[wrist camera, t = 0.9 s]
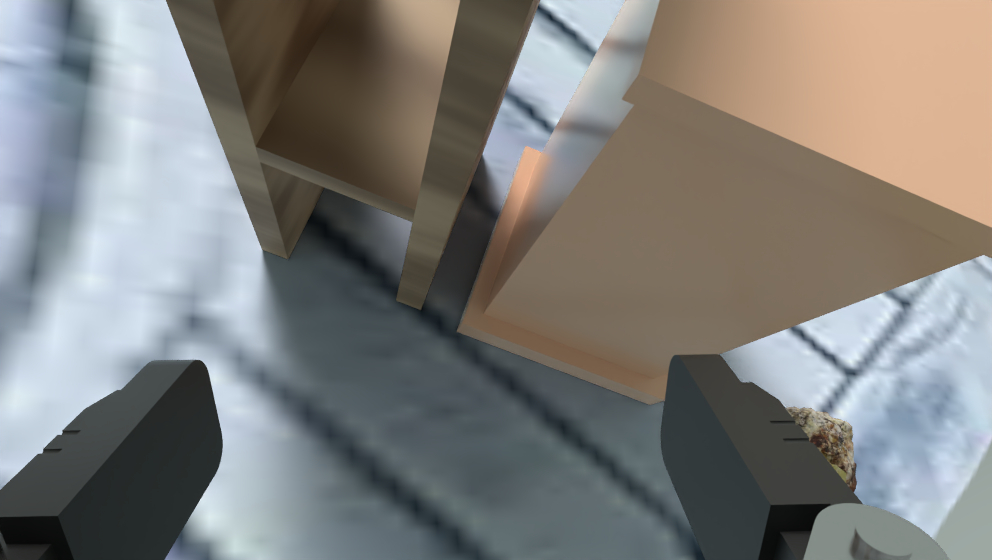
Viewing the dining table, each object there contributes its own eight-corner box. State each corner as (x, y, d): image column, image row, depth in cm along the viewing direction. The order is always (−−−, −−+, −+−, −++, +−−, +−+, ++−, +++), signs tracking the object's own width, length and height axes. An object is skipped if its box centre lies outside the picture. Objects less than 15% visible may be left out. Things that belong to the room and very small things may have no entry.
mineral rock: (783, 365, 38) (907, 444, 36) (757, 386, 42) (868, 458, 39) (699, 506, 34) (832, 604, 32) (680, 515, 38) (797, 603, 36)
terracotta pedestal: (649, 405, 37) (1075, 280, 15) (456, 331, 36) (615, 81, 14) (687, 230, 42) (1048, -54, 20) (518, 161, 41) (706, -221, 19)
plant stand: (414, 324, 36) (694, -453, 6) (254, 264, 35) (-298, -977, 5) (486, 142, 41) (819, -741, 12) (349, 85, 40) (332, -1029, 11)
